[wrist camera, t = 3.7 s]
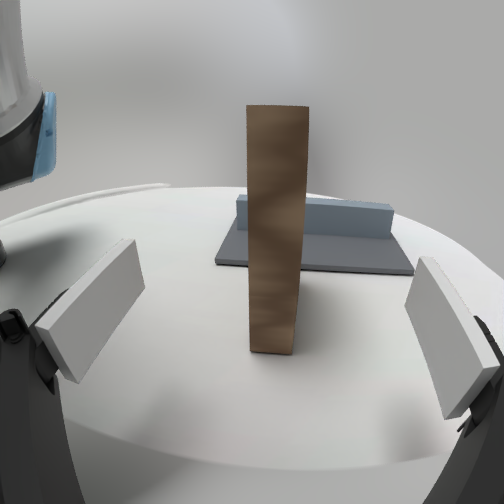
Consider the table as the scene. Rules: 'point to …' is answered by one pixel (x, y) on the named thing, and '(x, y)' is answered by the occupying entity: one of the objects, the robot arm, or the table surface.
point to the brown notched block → (275, 221)
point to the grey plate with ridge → (332, 238)
